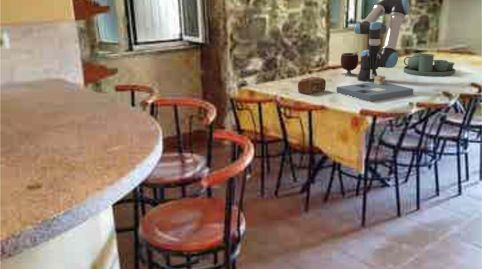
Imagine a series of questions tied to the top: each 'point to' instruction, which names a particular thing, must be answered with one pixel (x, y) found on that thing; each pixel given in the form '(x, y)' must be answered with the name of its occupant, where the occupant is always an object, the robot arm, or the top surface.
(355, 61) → the mate gourd
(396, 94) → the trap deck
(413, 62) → the tea set
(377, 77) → the maple block
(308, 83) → the bread
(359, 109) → the top surface
